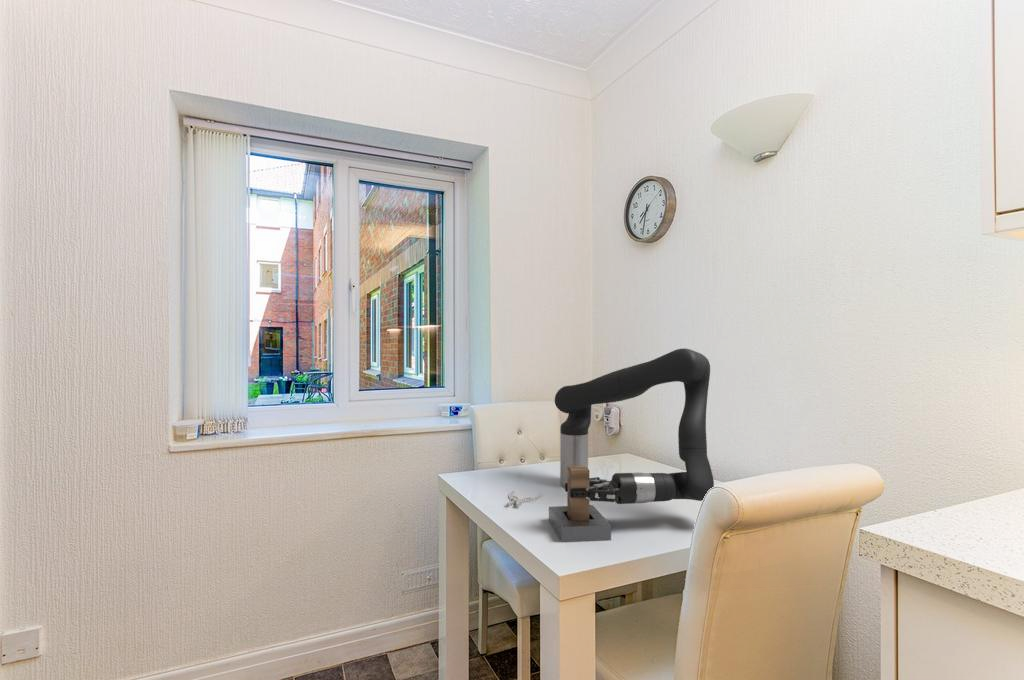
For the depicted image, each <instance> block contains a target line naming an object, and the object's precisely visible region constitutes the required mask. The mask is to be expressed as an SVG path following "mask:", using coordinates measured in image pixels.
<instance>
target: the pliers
mask: <svg viewBox="0 0 1024 680" xmlns="http://www.w3.org/2000/svg"><path fill="white" fill-rule="evenodd" d="M513 493H514V494H515V493H516V492H515V490H512V491H510V493H509V494H508V500H509V501H507V502H506V508H507V507H509V508H511V507H513V506H515V509H516V508H518V509H519V508H520V507H519V506H520V505H522V503H523V504H526V503H531V502H534V500H535V501H537V500H539V499H540V498H541V497H542V493H540V494H539V493H538V495H536V496H534V497H525V498H520V497H518V496H516V495H514V494H513ZM510 499H511V500H512V501H511V500H510ZM525 499H526V500H525ZM530 501H531V502H530ZM525 502H526V503H525ZM512 505H513V506H512ZM510 506H511V507H510Z"/></svg>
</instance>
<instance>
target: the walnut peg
mask: <svg viewBox="0 0 1024 680" xmlns="http://www.w3.org/2000/svg"><path fill="white" fill-rule="evenodd" d="M589 478H590V469H589V467H588V468H587V467H586V466H567V492H566V494H567V499H566V500H567V501H566V503H567V505H566V506H567V519H568V520H590V506H589V505H590V499H586V498H571V497H570V496H569V490H570V488H587V487H589Z"/></svg>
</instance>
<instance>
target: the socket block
mask: <svg viewBox="0 0 1024 680" xmlns="http://www.w3.org/2000/svg"><path fill="white" fill-rule="evenodd" d="M589 506H590V520H568V519H567V505H561V506H558V505H555V506H548V521H549V523H550V525H551V527H552V528H553V530H554V532H555V534H556V535H557V537H558V540H560V542H561V543H572V542H573V543H576V542H596V541H597V542H599V541H612V524H610V522H609V521H608V520H607V519H606V518H605V517H604V515H602V513H601V512H600V511H599V510H598V509H597V508H596V507H595V506H594V504H591V505H590V504H589Z"/></svg>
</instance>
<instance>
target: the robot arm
mask: <svg viewBox="0 0 1024 680" xmlns="http://www.w3.org/2000/svg"><path fill="white" fill-rule="evenodd" d="M710 377H711V365H710V361H709V359H708V358H707V356H705V355H704V354H702V353H700V352H698V351H695V350H692V349H690V348H679V349H674V350H671V351H670V352H668V353H666V354H663V355H661V356H658V357H656V358H654V359H651V360H649V361H646V362H640V363H639V364H635V365H632V366H628V367H625V368H620V369H617V370H615V371H612V372H609V373H606V374H603V375H601V376H599V377H596V378H594V379H591V380H588V381H586V382H585V381H584V382H581V383H578V384H572V385H565V386H562V387H561V388H560V389H558V390H557V392H556V394H555V396H554V405H555V406H556V408H557V409H558V410H559V412H561V413H565V414H567V415H568V416H567V418H566V420H565V421H564V422H562V423H561V425H560V435H559V436H560V438H559V442H560V443H559V444H560V447H559V448H560V449H559V450H560V455H559V457H560V461H559V465H560V466H559V467H560V468H559V469H560V473H559V477H560V478H559V481H560V482H559V483H560V486H561V487H563V488H564V490H565V492H566V493H567V466H586V467H587V468H588V469H589V428H590V426H591V422H592V421H591V420H592V405H599V404H600V405H602V404H609V403H611V404H612V403H616V402H617V403H618V402H623V401H627V400H629V399H635V398H637V397H640V396H641V395H643V394H645V393H646V391H648V390H650V389H651V388H653V387H655V386H657V385H662V384H663V385H664V384H667V383H675V382H676V383H677V382H680V383H683V386H684V387H683V388H684V393H685V394H684V399H685V400H684V406H683V411H682V414H681V417H680V420H679V424H678V431H677V433H678V436H677V437H678V438H677V439H678V441H677V442H678V455H679V459H680V460H681V461H683V462H684V465H685V470H686V471H680V472H671V473H667V472H653V473H652V472H649V473H648V472H615V473H614V474H613V475H612V476H611V480H607V479H605V478H601V477H599V476H596V477H589V487H587V488H570V490H569V496H570V497H571V498H586V499H589V502H590V501H591V502H604V503H605V502H607V503H615V504H618V505H631V504H632V505H633V504H646V503H653V502H654V503H655V502H657V503H659V502H667V501H672V500H692V501H696V502H697V501H698V502H703V501H702V500H703V498H704V496H705V494H706V493H707V491H708V490H709V489H710V488H712V487H714V488H715V482H714V481H715V480H714V475H713V471H712V468H711V464H710V461H709V457H708V445H707V444H708V442H707V404H708V394H709V386H710V385H709V384H710Z"/></svg>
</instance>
